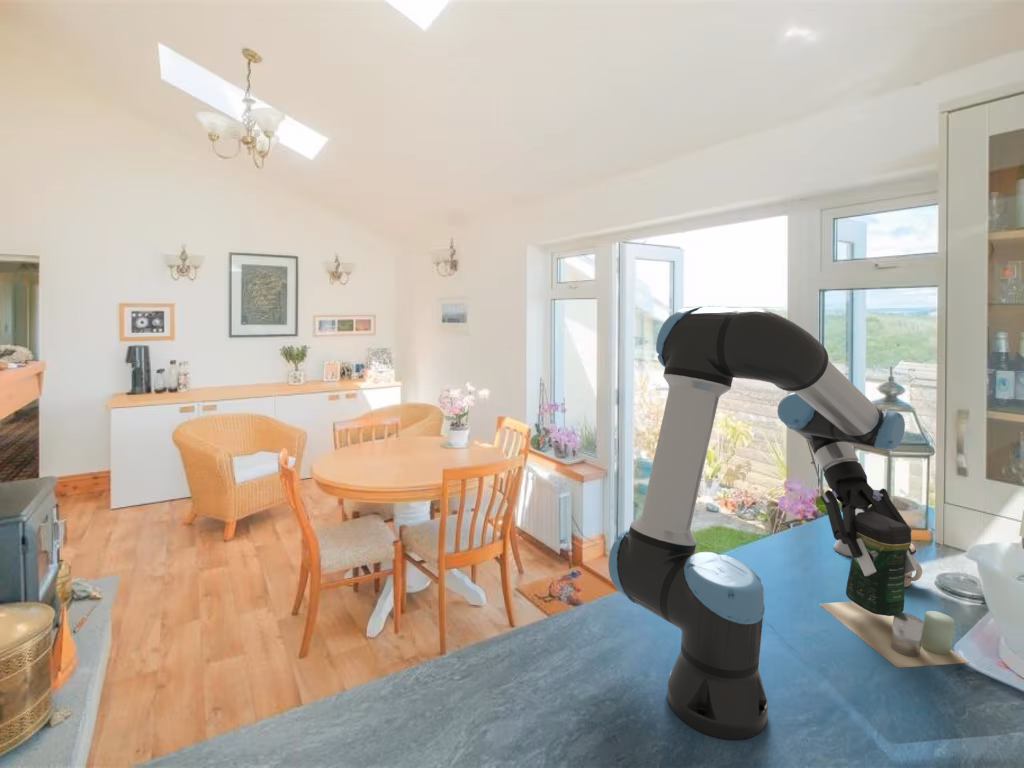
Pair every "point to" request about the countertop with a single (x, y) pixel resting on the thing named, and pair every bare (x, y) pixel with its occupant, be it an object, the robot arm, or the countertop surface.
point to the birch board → (883, 635)
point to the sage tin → (937, 632)
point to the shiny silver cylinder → (907, 634)
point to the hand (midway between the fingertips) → (891, 572)
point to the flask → (842, 548)
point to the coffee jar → (880, 564)
